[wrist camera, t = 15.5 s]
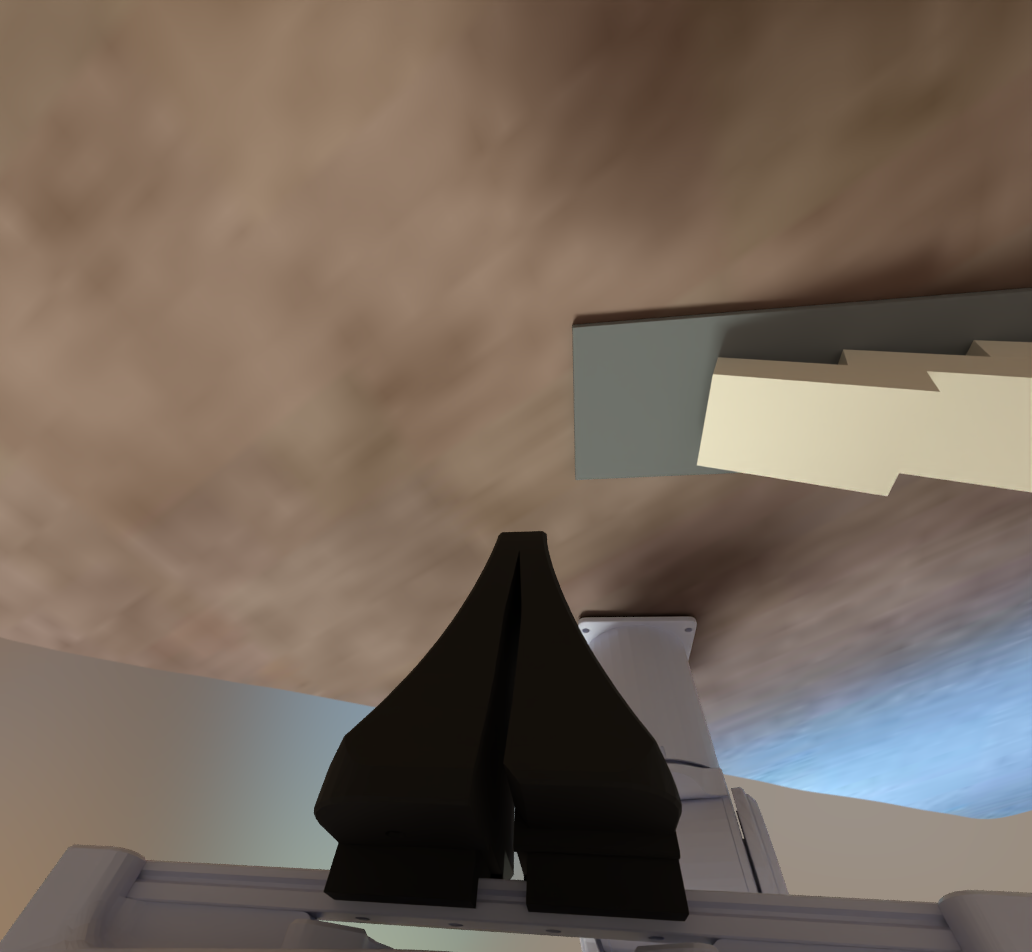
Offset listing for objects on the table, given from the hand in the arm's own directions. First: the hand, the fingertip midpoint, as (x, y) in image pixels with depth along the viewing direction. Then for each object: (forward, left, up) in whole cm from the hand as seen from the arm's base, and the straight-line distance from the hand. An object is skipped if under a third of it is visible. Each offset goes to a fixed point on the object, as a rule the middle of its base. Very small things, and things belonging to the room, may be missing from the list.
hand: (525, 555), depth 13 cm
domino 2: (0, -13, -8) cm, 16 cm away
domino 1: (0, -8, -8) cm, 12 cm away
